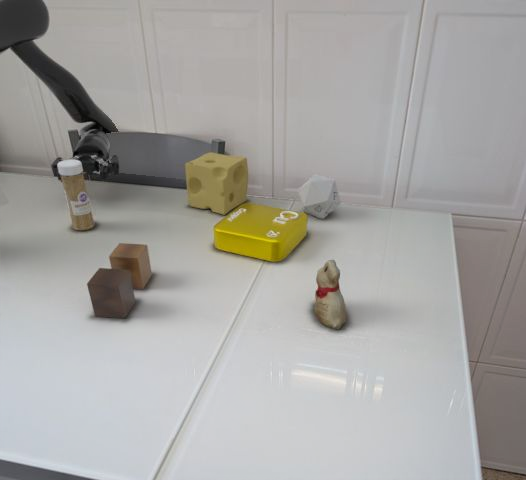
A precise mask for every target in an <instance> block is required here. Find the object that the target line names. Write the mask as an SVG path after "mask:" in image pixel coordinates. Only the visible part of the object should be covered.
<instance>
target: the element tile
mask: <svg viewBox="0 0 526 480" xmlns="http://www.w3.org/2000/svg"><path fill="white" fill-rule="evenodd" d="M307 230H308V214H307V213H305V212H302V211H296V210H291V209H285V208H280V207H276V206H270V205H264V204H259V203H253V202H244V203H242V204H240V205H238V206H237V207H236V208H234V209H233V211H230V212H229V214H228V215H227V214H226V216H225V217H223V218H222V219H221V220H219V221H218V222H216V224H214V226H213V242H214V243H213V244H214V247H215V249H217V250H219V251H222V252H227V253H231V254H236V255H241V256H245V257H250V258H254V259H258V260H263V261H268V262H272V263H273V262H276V263H277V262H278V263H279V262H282V261H283V260H285V259H286V258H287V257H288V256H289V255H290V254H291V253H292V251H293V250H294V249H295V248H297V246H298V245H299V244H300V243H301V242H302V240H303V239H305V237H306V236H307V232H308V231H307Z"/></svg>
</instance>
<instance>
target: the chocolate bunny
mask: <svg viewBox="0 0 526 480" xmlns="http://www.w3.org/2000/svg"><path fill="white" fill-rule="evenodd" d="M340 278H341V269H339V267H338V266H337V262H336V260H335V259H329V260H327V261H326V262H325V263H324V265H323V266H322V267H320V268H318V269H317V273H316V277H315V282H316V284H317V289H316V290H315V292H314V293H315V294H314V297H315V307H314V315H315V316H316V318H317V319H318V321H319V322H320V323H321V324H322V325H324V326H325V327H329V328H331V329H334V330H340V329H341V327H342V326H343V325H344V324H345V323H346V320H347V319H346V318H347V310H346V302H345V298H344V296H343V294H342V292H341V289H340Z"/></svg>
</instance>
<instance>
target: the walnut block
mask: <svg viewBox="0 0 526 480" xmlns="http://www.w3.org/2000/svg"><path fill="white" fill-rule="evenodd" d="M86 287H87V290H88V294H89V298H90V303H91V305H92V309H93V314H94V317H98V318H109V319H110V318H111V319H122V320H124V319H126V318H127V316H128V315H129V313H131V312H130V311H131V310H132V308H133V307H134V305H135V303H136V296H135V292H134V289H133V286H132V280H131V275H130V270H123V269H111V268H106V267H99V268H98V269H97V270H96V271H95V273H94V274H93V275H92V277H91V278H90V279H89V280H88V282H87V283H86Z"/></svg>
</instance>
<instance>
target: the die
mask: <svg viewBox="0 0 526 480" xmlns="http://www.w3.org/2000/svg"><path fill="white" fill-rule="evenodd" d="M297 193H298V196H299V199H300V203H301V206H302V209H303V211H304V212H303V213H305V214H306V215H310V216H312V217H315V218H318V219H321V220H324V219H325V218H326V217H327V216H328V215H329V214H330V213H332V212H333V211H334V210H335V209H336V208H337V207H338V206H340V205H341V204H342V202H341V198H340V194H339V191H338V187H337V184H336V179H334V178H331V177H328V176H324V175H321V174H319V173H315V174H313V175H312V176H311V177H310V178H309V179H308V180H307V181H306V182H304V183H303V185H301V186H300V187H299V188H297Z"/></svg>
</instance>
